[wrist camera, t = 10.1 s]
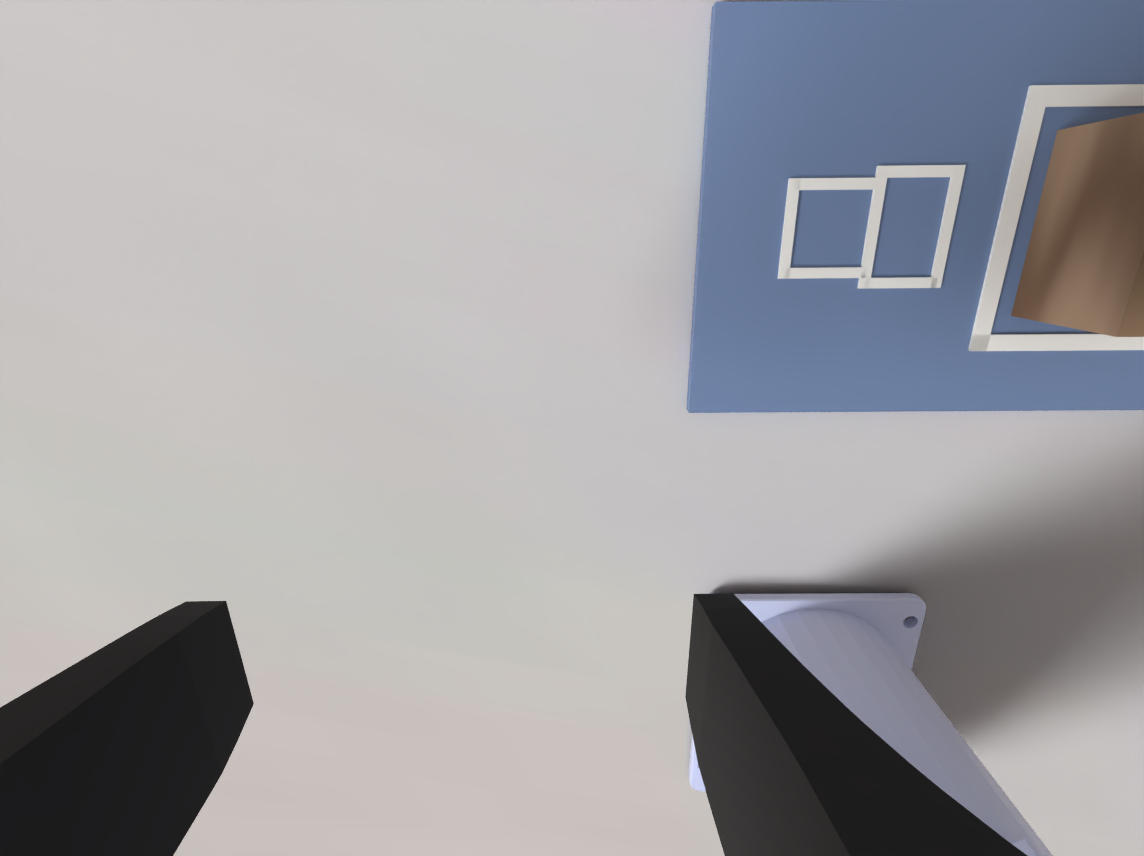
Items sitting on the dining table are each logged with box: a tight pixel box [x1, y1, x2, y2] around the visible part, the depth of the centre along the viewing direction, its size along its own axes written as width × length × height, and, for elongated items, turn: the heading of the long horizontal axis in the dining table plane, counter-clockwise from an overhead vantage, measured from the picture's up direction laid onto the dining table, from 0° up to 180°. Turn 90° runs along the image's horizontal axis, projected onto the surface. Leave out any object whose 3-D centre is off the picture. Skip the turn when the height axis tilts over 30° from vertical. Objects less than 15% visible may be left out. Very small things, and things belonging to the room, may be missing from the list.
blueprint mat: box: [687, 0, 1144, 413], centre depth 16 cm, size 11×16×1 cm
